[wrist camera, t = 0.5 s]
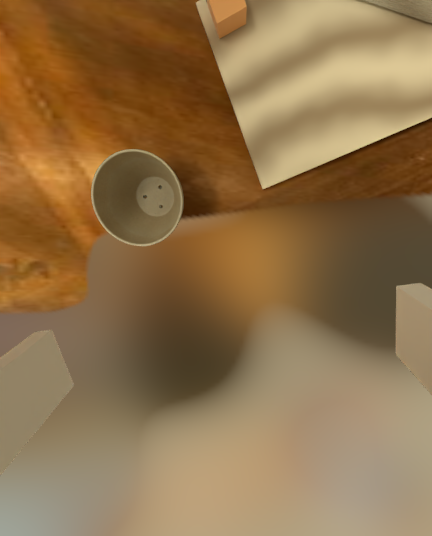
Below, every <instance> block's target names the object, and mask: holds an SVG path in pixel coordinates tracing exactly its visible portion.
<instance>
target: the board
mask: <svg viewBox="0 0 432 536" xmlns="http://www.w3.org/2000/svg"><path fill="white" fill-rule="evenodd" d="M245 3H246V6H247V12H246V24H245V25H243V26H242V27H240V28H238V29H236V30H235V31H233V32H231V33H229V34H227V35H226V36H224V37H222V38H220V39H219V37H218V34H217V31H216V28H215V25H214V23H213V20H212V17H211V14H210V11H209V8H208V4H207V3H206V0H199V1H198V2H196V6H197V10H198V13H199V15H200V18H201V21H202V24H203V26H204V29H205V32H206V35H207V37H208V40H209V43H210V46H211V49H212V51H213V54H214V57H215V60H216V62H217V65H218V68H219V71H220V73H221V76H222V79H223V82H224V85H225V87H226V90H227V93H228V96H229V98H230V101H231V104H232V107H233V109H234V112H235V115H236V118H237V120H238V123H239V126H240V129H241V132H242V134H243V137H244V140H245V143H246V145H247V148H248V151H249V154H250V156H251V159H252V162H253V165H254V168H255V170H256V173H257V176H258V179H259V181H260V184H261V187H262V189H265V188H267V187H270V186H272V185H274V184H277V183H279V182H281V181H284V180H286V179H288V178H291V177H293V176H296V175H298V174H300V173H303V172H305V171H307V170H310V169H312V168H314V167H317V166H319V165H321V164H324V163H326V162H328V161H331V160H333V159H335V158H338V157H340V156H343V155H345V154H347V153H350V152H352V151H354V150H357V149H359V148H361V147H364V146H366V145H368V144H371V143H373V142H375V141H378V140H380V139H383V138H385V137H387V136H390V135H392V134H394V133H397V132H399V131H401V130H404V129H406V128H408V127H411V126H413V125H415V124H418V123H420V122H422V121H425V120H427V119H430V118H432V23H429V22H426V21H423V20H420V19H417V18H414V17H411V16H408V15H405V14H402V13H399V12H396V11H393V10H391V9H388V8H385V7H382V6H379V5H376V4H373V3H370V2H367V1H364V0H245Z"/></svg>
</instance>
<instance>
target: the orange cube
mask: <svg viewBox="0 0 432 536" xmlns="http://www.w3.org/2000/svg"><path fill="white" fill-rule="evenodd" d="M207 4H208V8H209V11H210V14H211V17H212V20H213V23H214V25H215V28H216V31H217V34H218V37H219V39H220V38H222V37H224V36H226V35H227V34H229V33H231V32H233V31H235V30H236V29H238V28H240V27H242V26H243V25H245V24H246V12H247V6H246V3H245V0H207Z"/></svg>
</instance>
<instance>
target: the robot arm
mask: <svg viewBox="0 0 432 536" xmlns="http://www.w3.org/2000/svg"><path fill="white" fill-rule="evenodd" d="M396 356H397V357H398V358H399V359H400V360H401V361H402V362H403V363H404V364H405V366H406V367H407V368H408V369H409V370H410V371H411V372H412V373H413V375H414V376H415V377H416V378H417V379H418V380H419V381H420V382H421V383H422V385H423V386H424V387H425V388H426V389H427V390H428V391H429V392H430V394H431V395H432V289H430V288H429V287H427V286H425V285H423V284H422V283H417V284H408V285H401V286H396ZM73 386H74V384H73V381H72V379H71V376H70V374H69V371H68V369H67V366H66V364H65V362H64V359H63V356H62V354H61V351H60V349H59V346H58V344H57V342H56V339H55V336H54V334H53V331H52V330H47V331H39V332H35V333H33V334H32V335H31V336H29V337H28V338H26V339H25V340H24V341H23V342H21V343H20V344H18V345H17V346H16V347H14V348H13V349H11V350H10V351H9V352H7V353H6V354H5V355H3V356H2V357H1V358H0V475H1V474H2V473H3V472H4V470H5V469H6V468H7V467H8V466H9V464H10V463H11V462H12V461H13V459H14V458H15V457H16V455H18V453H19V452H20V451H21V450H22V448H23V447H24V446H25V445H26V443H27V442H28V441H29V440H30V439H31V437H32V436H33V435H34V434H35V432H36V431H37V430H38V429H39V428H40V426H41V425H42V424H43V423H44V421H45V420H46V419H47V418H48V417H49V415H50V414H51V413H52V411H53V410H54V409H55V408H56V407H57V405H58V404H59V403H60V402H61V401H62V399H63V398H64V397H65V396H66V395H67V393H68V392H69V391H70V389H71V388H72V387H73Z"/></svg>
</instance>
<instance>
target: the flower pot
mask: <svg viewBox="0 0 432 536" xmlns="http://www.w3.org/2000/svg"><path fill="white" fill-rule="evenodd" d="M159 186H160V188H159ZM91 197H92V205H93V208H94V211H95V214H96V216H97V218H98V220H99V221H100V223H101V224H102V226H103V227H104V228H105V229H106V230H107V231H108V232H109V233H110V234H111V235H112V236H113V237H115V238H116V239H118V240H120V241H122V242H124V243H127V244H130V245H135V246H149V245H153V244H156V243H158V242H161V241H162V240H164V239H165V238H167V237H168V236H169V235H170V234H171V233H172V232H173V231H174V229H175V228H176V226H177V225H178V223H179V221H180V219H181V216H182V213H183V208H184V195H183V190H182V186H181V184H180V181H179V179H178V177H177V175H176V174H175V172H174V171H173V170H172V169H171V167H170V166H169V165H168V164H167V163H166V162H164V161H163V160H162V159H161V158H159V157H158V156H156V155H154V154H152V153H150V152H147V151H144V150H139V149H127V150H122V151H119V152H116V153H114V154H113V155H111V156H109V157H108V158H107V159H105V160H104V161H103V163H102V164H101V165H100V166H99V168H98V169H97V171H96V173H95V175H94V178H93V182H92V189H91ZM144 197H147V198H144ZM161 205H162V206H163V207H162V206H161Z"/></svg>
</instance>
